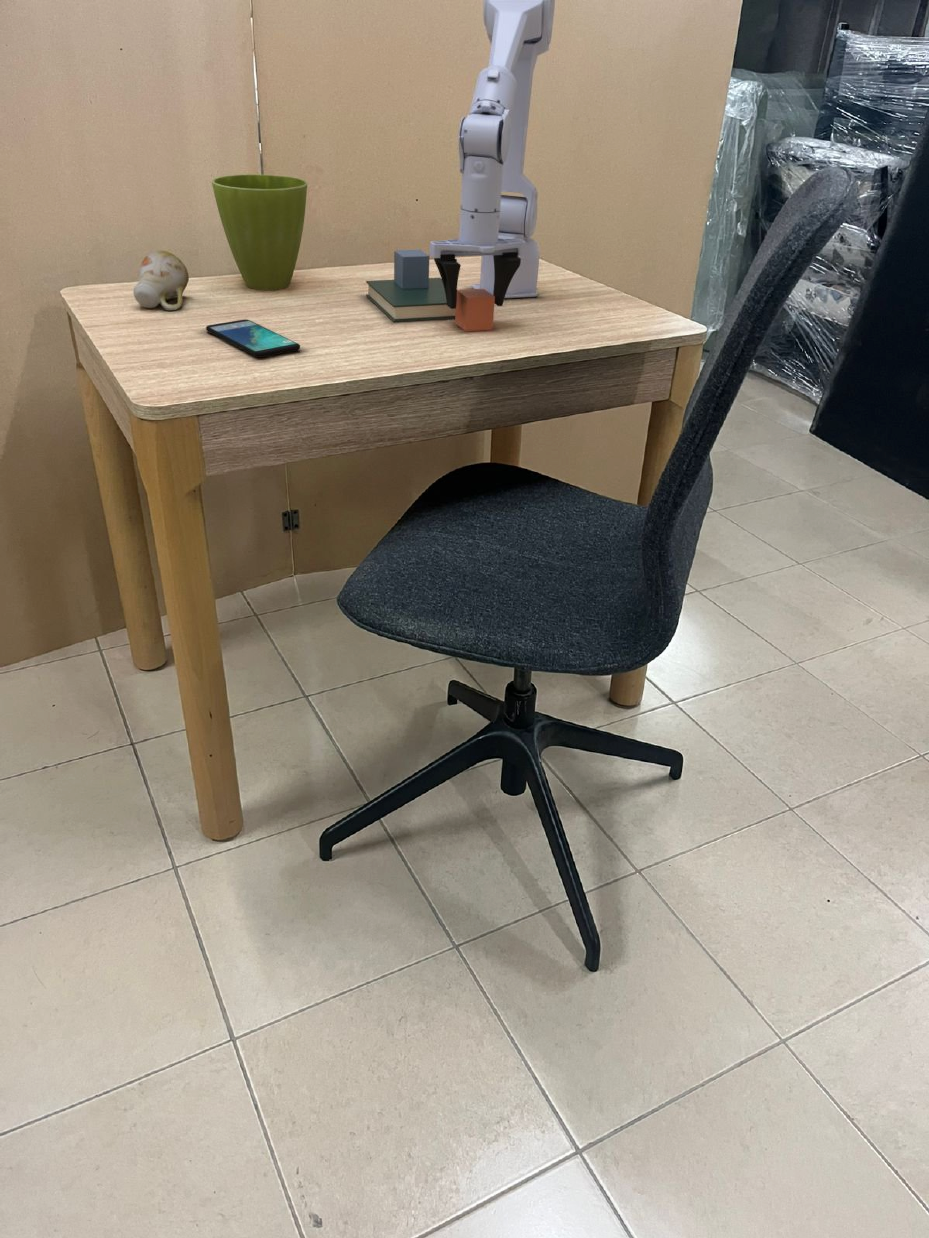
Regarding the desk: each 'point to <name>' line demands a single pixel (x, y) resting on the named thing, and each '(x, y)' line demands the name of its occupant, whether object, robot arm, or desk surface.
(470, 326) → the terracotta block
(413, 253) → the slate block
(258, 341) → the smartphone
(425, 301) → the book
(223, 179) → the flower pot
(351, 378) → the desk surface
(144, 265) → the mug
